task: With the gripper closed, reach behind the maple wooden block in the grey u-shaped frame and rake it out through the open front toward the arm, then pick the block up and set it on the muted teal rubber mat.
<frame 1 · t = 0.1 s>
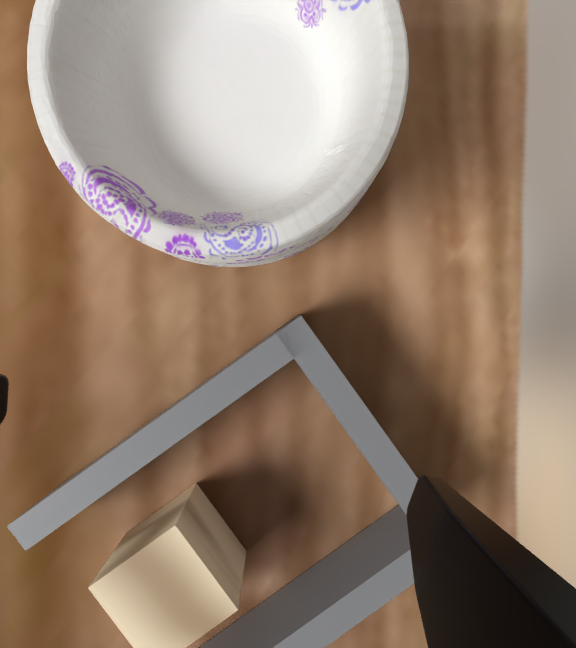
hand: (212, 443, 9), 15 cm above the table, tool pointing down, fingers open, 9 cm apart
grey u-shaped frame: (242, 502, 25), on the table
paper bowls: (238, 143, 24), on the table
wooden block: (186, 541, 25), on the table
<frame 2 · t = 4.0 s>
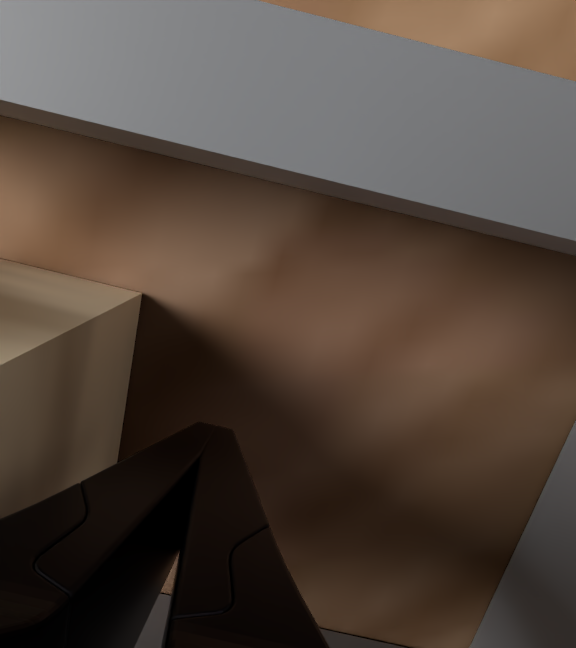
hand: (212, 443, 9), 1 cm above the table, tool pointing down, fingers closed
grey u-shaped frame: (236, 424, 10), on the table
wooden block: (21, 370, 10), on the table, touching gripper
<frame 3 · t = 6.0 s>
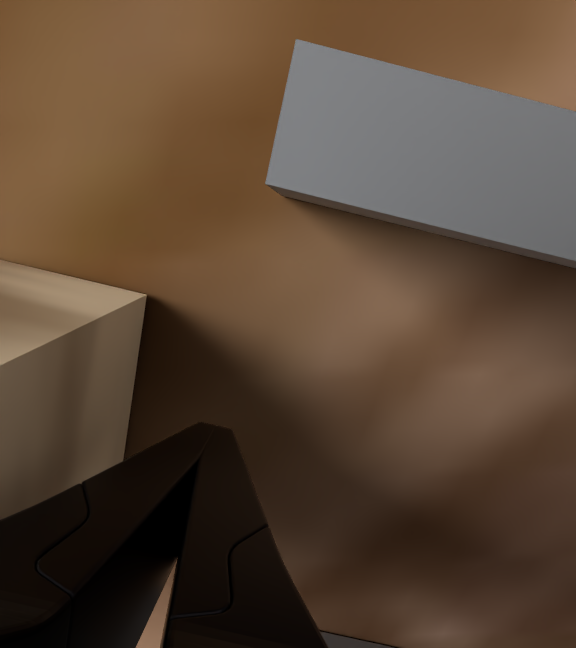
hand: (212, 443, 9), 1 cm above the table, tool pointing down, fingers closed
grey u-shaped frame: (566, 505, 10), on the table
wooden block: (28, 371, 10), on the table, touching gripper
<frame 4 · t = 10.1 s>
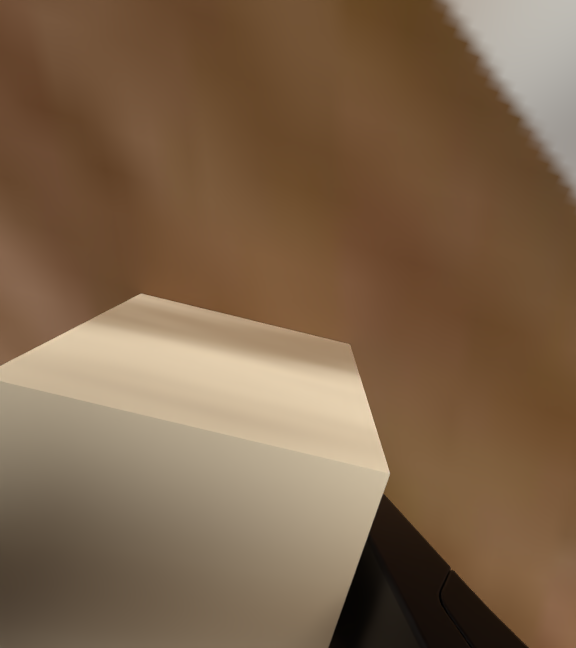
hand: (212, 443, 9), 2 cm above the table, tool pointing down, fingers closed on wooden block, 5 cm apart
wooden block: (225, 413, 11), on the table, touching gripper
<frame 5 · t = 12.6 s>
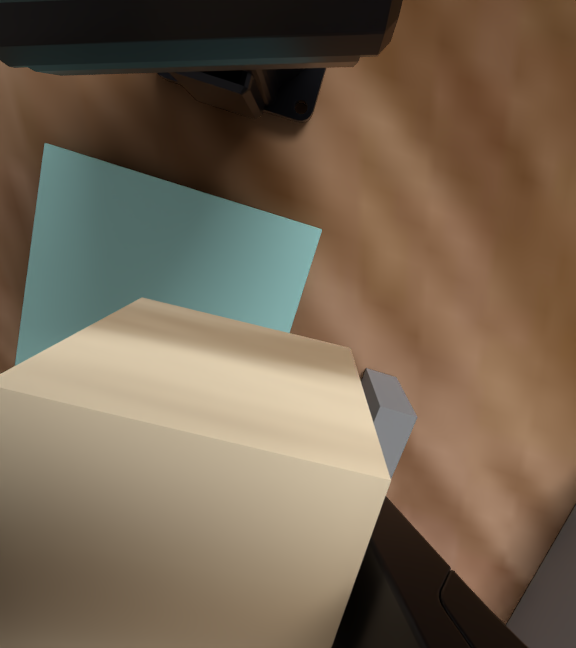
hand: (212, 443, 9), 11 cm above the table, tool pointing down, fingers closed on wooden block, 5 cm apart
grey u-shaped frame: (437, 548, 22), on the table
mat: (159, 316, 20), on the table
wooden block: (226, 416, 11), point 9 cm above the table, touching gripper
when the fingers open (4 cm above the table, at t = 15.1 s): wooden block drops 1 cm, resting on mat.
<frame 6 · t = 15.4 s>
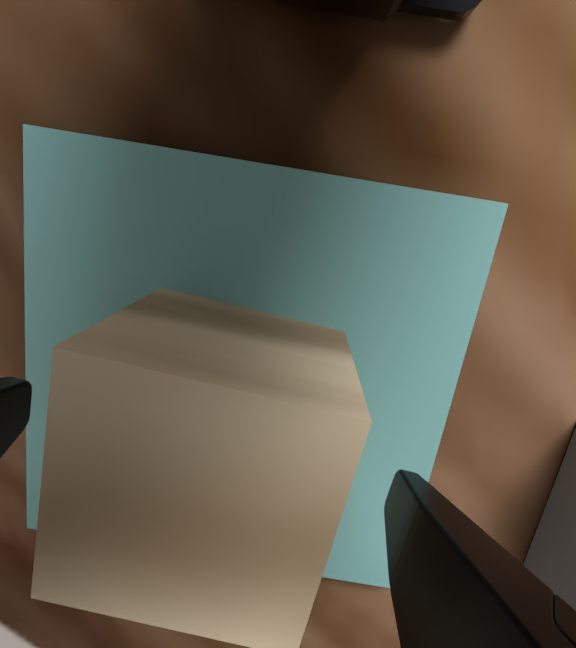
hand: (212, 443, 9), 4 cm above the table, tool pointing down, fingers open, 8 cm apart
mat: (238, 379, 12), on the table
wooden block: (235, 392, 12), point 1 cm above the table, touching mat
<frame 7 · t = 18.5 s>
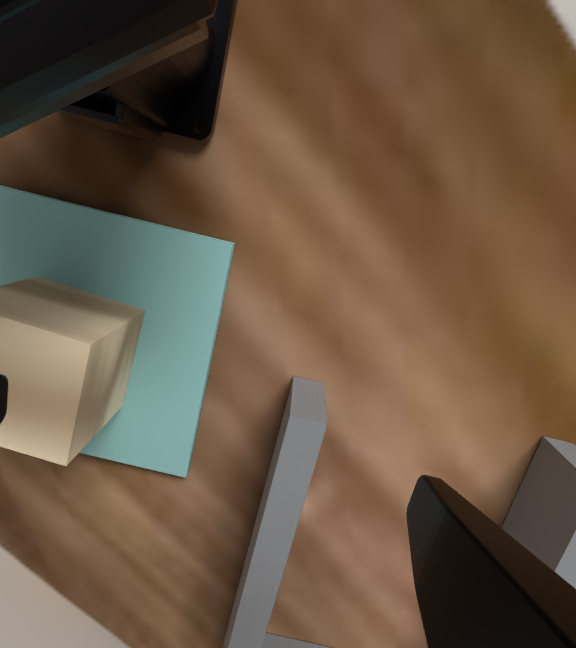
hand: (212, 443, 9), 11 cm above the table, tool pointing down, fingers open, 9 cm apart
grey u-shaped frame: (382, 549, 23), on the table
mat: (88, 336, 20), on the table
wooden block: (82, 343, 20), point 1 cm above the table, touching mat
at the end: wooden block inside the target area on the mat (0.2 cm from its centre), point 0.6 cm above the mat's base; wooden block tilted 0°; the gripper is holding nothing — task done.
